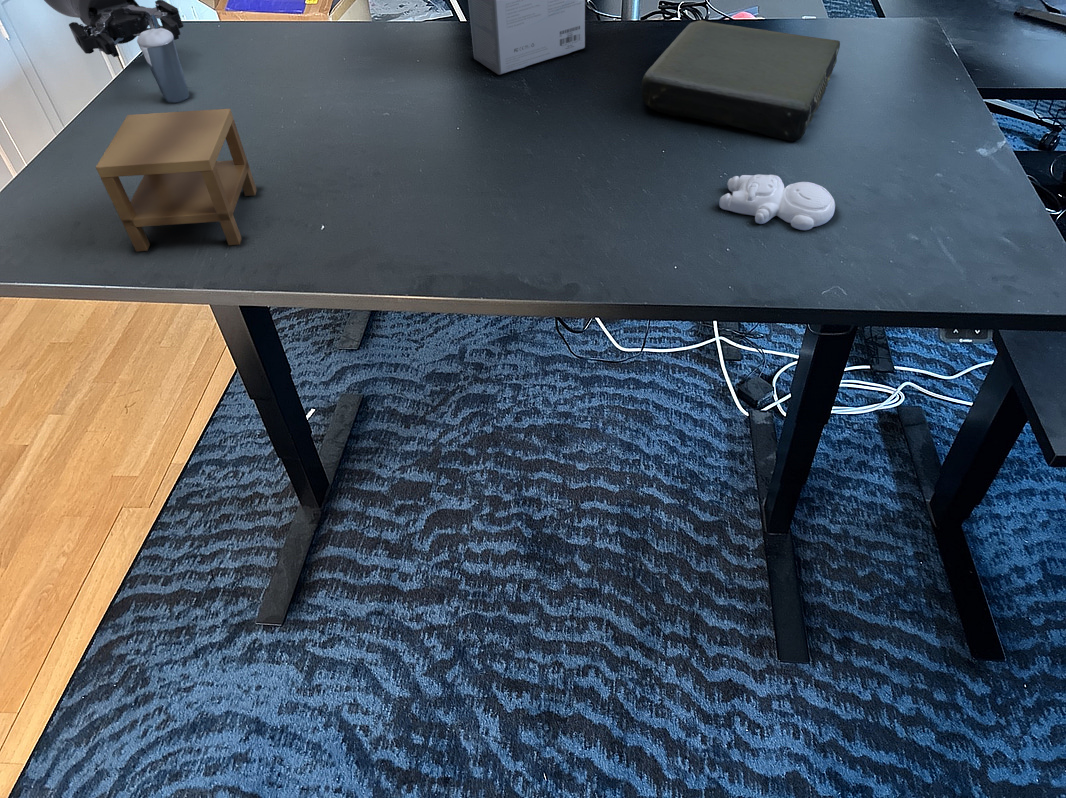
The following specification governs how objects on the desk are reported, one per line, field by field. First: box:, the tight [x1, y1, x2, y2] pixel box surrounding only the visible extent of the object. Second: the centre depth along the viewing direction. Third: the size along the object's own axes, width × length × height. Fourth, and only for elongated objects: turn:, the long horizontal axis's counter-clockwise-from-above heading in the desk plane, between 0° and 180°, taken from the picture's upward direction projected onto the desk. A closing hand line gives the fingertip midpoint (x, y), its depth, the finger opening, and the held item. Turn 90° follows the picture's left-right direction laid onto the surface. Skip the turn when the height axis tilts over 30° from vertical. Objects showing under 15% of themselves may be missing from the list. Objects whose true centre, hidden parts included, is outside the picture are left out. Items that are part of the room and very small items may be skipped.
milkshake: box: [136, 15, 190, 104], centre depth 104 cm, size 4×5×10 cm
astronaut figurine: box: [718, 173, 836, 231], centre depth 84 cm, size 9×12×3 cm
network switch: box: [640, 19, 841, 142], centre depth 102 cm, size 23×23×5 cm
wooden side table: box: [95, 108, 257, 253], centre depth 83 cm, size 11×11×10 cm
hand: (145, 40), depth 107 cm, fingers open, 8 cm apart
